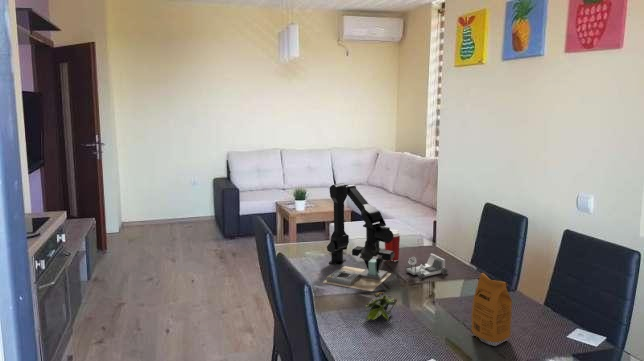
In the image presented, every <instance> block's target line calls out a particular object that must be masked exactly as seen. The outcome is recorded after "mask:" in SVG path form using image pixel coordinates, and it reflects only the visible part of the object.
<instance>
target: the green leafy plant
mask: <svg viewBox="0 0 644 361" xmlns="http://www.w3.org/2000/svg"><path fill="white" fill-rule="evenodd" d="M373 295H374V298H372V299H370V300H369V302H367V304H368V305H367V304H366V305H365V311H368V310H369V312H368V314H367V315H366V321H370V320H372V321H374V320H376V319H378V318H379V317H380V316H383V318H384V319H385V320H386V322H387V323H388V322H389V320H390V319H389V317H390V315H391V312H392V310H393V308H394V306H395V305H396V304H397V298H395V297H393V298H392V295H387V294H385V292H376V293H374V294H373ZM389 306H392V307H391V308H390V310H388V307H389ZM387 310H388V311H387Z"/></svg>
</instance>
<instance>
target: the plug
mask: <svg viewBox="0 0 644 361" xmlns="http://www.w3.org/2000/svg"><path fill="white" fill-rule="evenodd" d="M376 259H377V258H376ZM376 259H375V258H372V259H370V261H369V262H368V266H369V275H374V276H376V275H377V274H378V272H377V261H376Z"/></svg>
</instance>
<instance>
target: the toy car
mask: <svg viewBox="0 0 644 361" xmlns="http://www.w3.org/2000/svg"><path fill="white" fill-rule="evenodd" d="M407 262H408V265H406V266H405V268H404V270H405V272H408V273H410V274H411V275H413V276H415V275H417V276H418V278H419V279H420V278H424V279H425V278H426V277H430V276H434V275H439V274H442V275H447V274H448V272H449V270H448V268H446V259H444V258H442V257H440V256H438V255H437V254H434V253H430V254H429V257H428V258H427V262H426V263H424V262H421V264H420V265H419V266H417V258H416V257H415V256H412V257H410V258H408V259H407Z"/></svg>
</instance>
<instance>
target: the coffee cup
mask: <svg viewBox="0 0 644 361" xmlns="http://www.w3.org/2000/svg"><path fill="white" fill-rule="evenodd" d="M390 231H392V233H393V239H392V241H391V242H390V243H385V242H384V251H386V250H390V251H394V253H395V257H394V258H393V259H392V260H393V261H394V260H398V259H399V258H400V241H401V240H400V238H401V237H400V236H401V232H400V231H399V230H398V229H390ZM399 260H400V259H399ZM399 260H398V261H399Z"/></svg>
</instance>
